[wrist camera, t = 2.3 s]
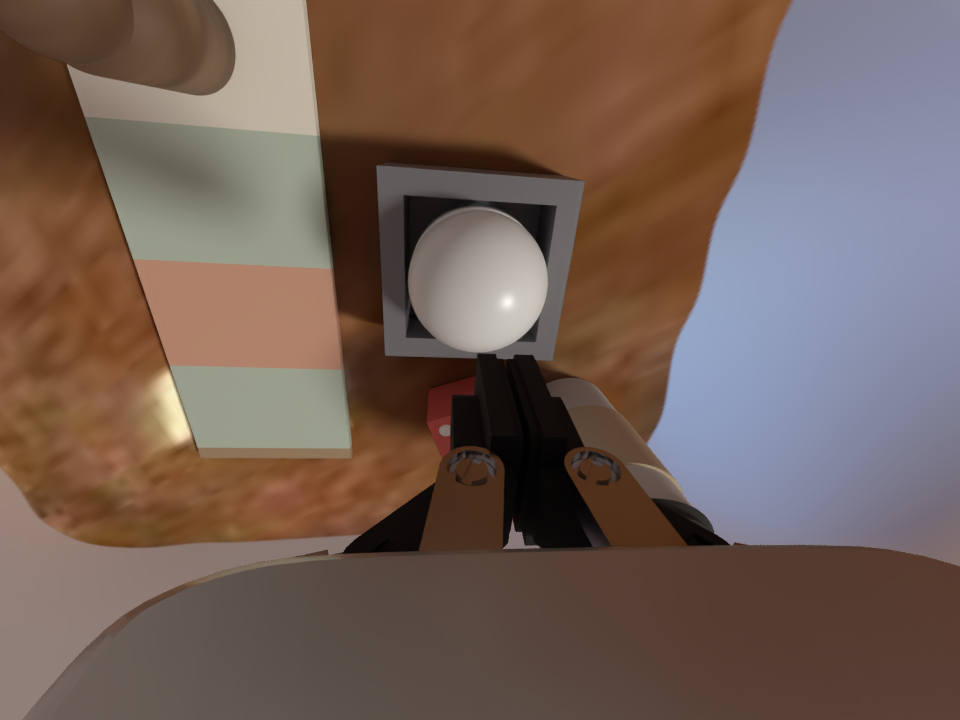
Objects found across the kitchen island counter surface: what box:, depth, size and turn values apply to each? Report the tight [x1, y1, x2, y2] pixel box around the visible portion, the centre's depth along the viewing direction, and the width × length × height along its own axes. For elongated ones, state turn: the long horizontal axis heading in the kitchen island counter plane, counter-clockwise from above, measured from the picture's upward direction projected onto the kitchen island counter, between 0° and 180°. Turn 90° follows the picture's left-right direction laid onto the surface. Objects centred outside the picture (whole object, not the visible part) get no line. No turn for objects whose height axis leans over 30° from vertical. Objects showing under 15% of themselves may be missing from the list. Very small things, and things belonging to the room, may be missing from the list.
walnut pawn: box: [0, 0, 236, 96], centre depth 14 cm, size 4×4×9 cm
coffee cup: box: [540, 378, 714, 548], centre depth 25 cm, size 9×9×15 cm
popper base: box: [376, 162, 585, 361], centre depth 23 cm, size 10×10×4 cm
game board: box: [67, 0, 353, 458], centre depth 23 cm, size 30×11×1 cm, turn 176°
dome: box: [408, 203, 548, 352], centre depth 20 cm, size 7×7×7 cm
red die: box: [427, 376, 475, 458], centre depth 28 cm, size 4×4×4 cm
